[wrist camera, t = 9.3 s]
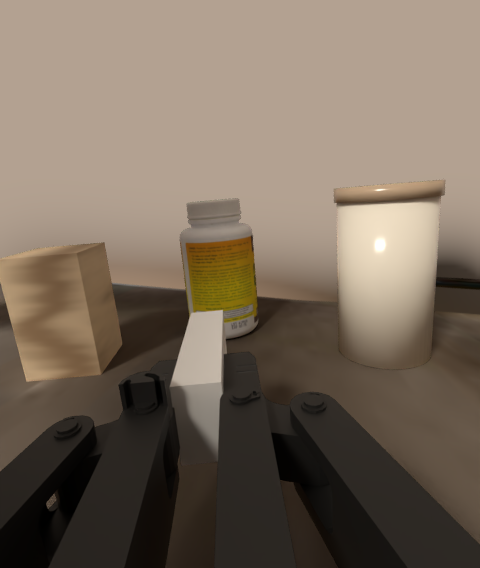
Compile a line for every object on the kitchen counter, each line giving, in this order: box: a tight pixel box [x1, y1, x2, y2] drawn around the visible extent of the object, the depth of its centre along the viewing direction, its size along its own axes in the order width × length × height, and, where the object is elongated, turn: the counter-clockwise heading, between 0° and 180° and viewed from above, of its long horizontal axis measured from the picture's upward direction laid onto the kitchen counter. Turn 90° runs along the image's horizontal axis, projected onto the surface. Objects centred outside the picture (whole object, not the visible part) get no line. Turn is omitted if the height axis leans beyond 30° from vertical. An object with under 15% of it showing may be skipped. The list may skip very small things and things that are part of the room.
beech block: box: [0, 243, 122, 382], centre depth 30 cm, size 6×6×10 cm
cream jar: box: [334, 180, 445, 370], centre depth 27 cm, size 7×7×13 cm
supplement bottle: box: [180, 198, 258, 339], centre depth 34 cm, size 7×7×13 cm
